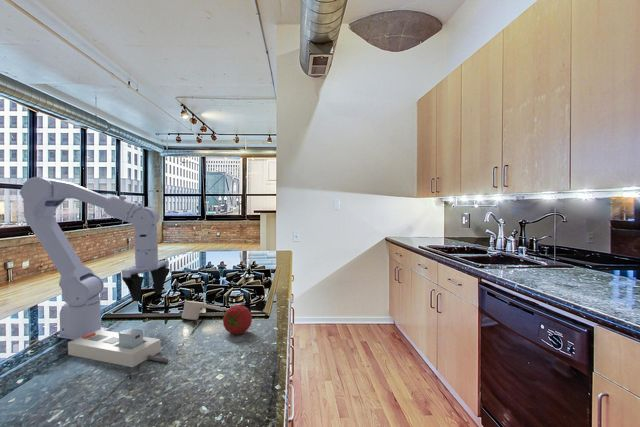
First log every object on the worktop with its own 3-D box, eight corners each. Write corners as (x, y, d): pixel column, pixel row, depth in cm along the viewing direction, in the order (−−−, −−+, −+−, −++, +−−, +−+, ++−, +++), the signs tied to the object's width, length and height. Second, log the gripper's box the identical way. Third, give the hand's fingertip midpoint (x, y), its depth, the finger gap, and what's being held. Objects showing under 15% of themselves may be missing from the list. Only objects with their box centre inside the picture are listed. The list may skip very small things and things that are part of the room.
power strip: (68, 354, 78) (67, 339, 78) (100, 340, 86) (99, 327, 85) (154, 371, 70) (153, 355, 70) (180, 354, 78) (180, 340, 77)
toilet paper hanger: (246, 308, 109) (210, 306, 95) (243, 324, 108) (206, 324, 94) (203, 300, 118) (165, 297, 105) (200, 314, 117) (161, 312, 104)
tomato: (243, 297, 94) (229, 300, 87) (261, 317, 92) (248, 321, 85) (226, 318, 95) (211, 322, 88) (244, 338, 92) (229, 344, 85)
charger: (119, 358, 76) (118, 333, 76) (130, 352, 79) (129, 328, 79) (132, 360, 75) (132, 335, 75) (143, 354, 78) (142, 330, 78)
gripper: (135, 254, 84) (137, 306, 85) (176, 246, 98) (177, 291, 98) (115, 253, 86) (116, 303, 87) (157, 245, 100) (159, 289, 101)
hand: (147, 296), depth 93 cm, fingers open, 7 cm apart
